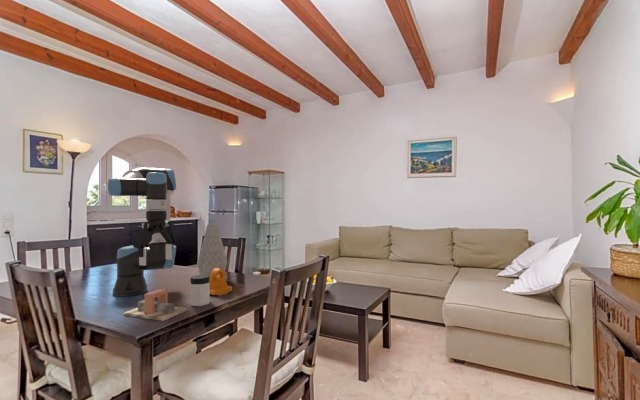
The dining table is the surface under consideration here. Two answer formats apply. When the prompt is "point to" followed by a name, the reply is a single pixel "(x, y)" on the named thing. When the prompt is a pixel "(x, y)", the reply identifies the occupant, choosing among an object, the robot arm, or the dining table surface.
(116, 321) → the dining table surface
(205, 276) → the jar
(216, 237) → the vase
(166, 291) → the clip
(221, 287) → the bracket
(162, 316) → the rail board
